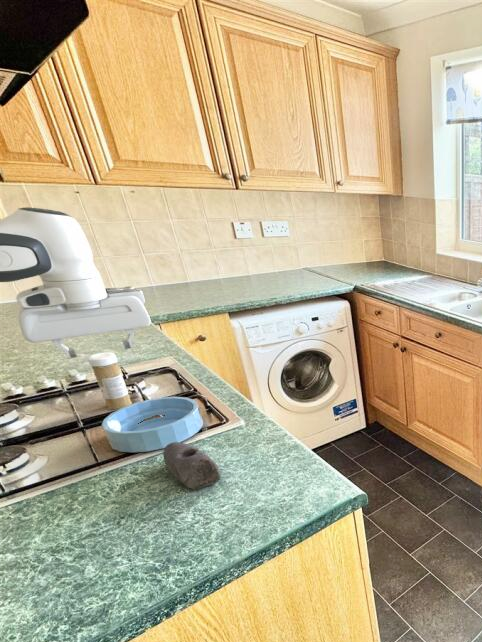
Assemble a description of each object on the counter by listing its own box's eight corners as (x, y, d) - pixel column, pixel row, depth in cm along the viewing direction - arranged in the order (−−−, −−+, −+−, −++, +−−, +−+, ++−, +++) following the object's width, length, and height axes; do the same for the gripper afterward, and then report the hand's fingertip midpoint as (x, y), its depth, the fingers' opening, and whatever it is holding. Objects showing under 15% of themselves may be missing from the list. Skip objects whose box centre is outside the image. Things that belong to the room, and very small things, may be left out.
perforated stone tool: (158, 469, 80) (147, 438, 77) (190, 457, 84) (180, 427, 81) (194, 502, 73) (183, 469, 70) (226, 486, 77) (217, 455, 74)
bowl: (93, 460, 81) (83, 436, 79) (136, 420, 95) (128, 399, 93) (186, 452, 85) (179, 429, 83) (214, 415, 99) (208, 394, 97)
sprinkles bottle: (109, 405, 100) (88, 353, 94) (134, 401, 103) (115, 350, 97) (107, 414, 97) (85, 360, 91) (133, 409, 99) (113, 356, 94)
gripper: (138, 282, 97) (157, 339, 103) (7, 294, 83) (37, 358, 89) (142, 288, 93) (162, 346, 99) (5, 300, 79) (36, 367, 85)
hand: (101, 352), depth 94 cm, fingers open, 8 cm apart
